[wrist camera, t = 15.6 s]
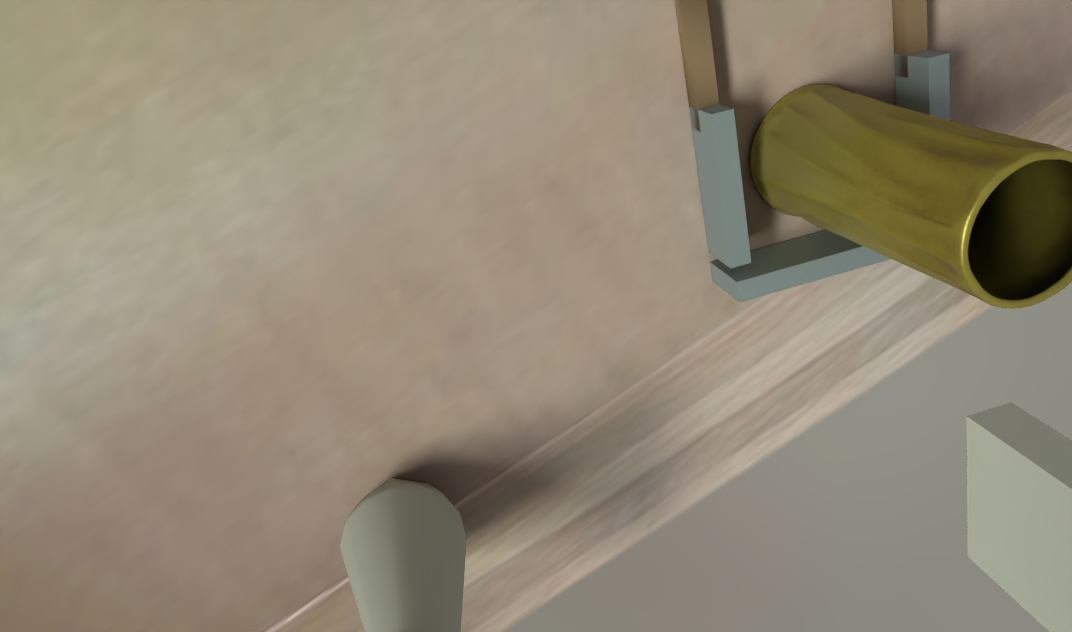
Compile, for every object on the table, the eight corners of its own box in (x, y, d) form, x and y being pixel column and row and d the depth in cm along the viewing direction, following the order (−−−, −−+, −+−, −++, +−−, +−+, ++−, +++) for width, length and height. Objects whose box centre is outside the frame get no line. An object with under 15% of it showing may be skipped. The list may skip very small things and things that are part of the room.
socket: (689, 106, 38) (716, 116, 35) (914, 48, 39) (956, 53, 37) (712, 281, 42) (739, 302, 39) (919, 222, 43) (958, 239, 40)
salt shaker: (355, 452, 41) (362, 645, 29) (471, 470, 43) (522, 660, 31) (329, 555, 43) (325, 777, 31) (441, 568, 44) (479, 783, 32)
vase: (880, 85, 40) (1143, 136, 27) (856, 215, 42) (1089, 320, 29) (758, 81, 38) (973, 133, 25) (740, 215, 41) (930, 326, 28)
